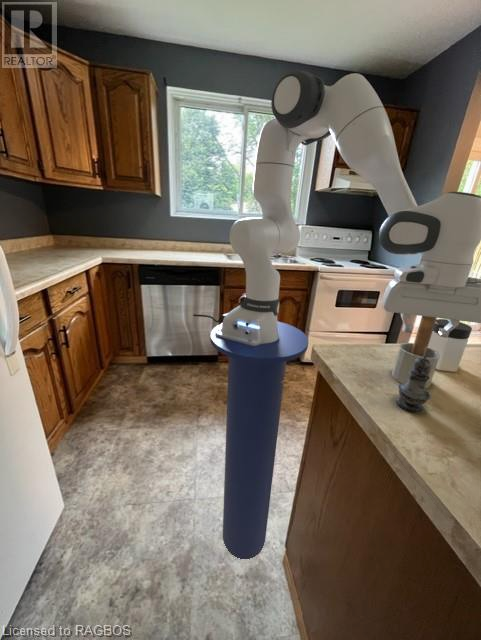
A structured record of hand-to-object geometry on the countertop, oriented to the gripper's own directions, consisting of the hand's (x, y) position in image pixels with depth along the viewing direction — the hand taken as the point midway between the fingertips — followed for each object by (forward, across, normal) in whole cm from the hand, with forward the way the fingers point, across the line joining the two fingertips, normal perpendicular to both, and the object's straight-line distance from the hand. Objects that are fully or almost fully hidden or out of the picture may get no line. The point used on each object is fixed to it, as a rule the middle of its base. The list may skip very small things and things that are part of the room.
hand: (424, 334), depth 63 cm
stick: (+12, 0, 0) cm, 12 cm away
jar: (+12, -10, -12) cm, 20 cm away
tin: (+12, 0, 0) cm, 12 cm away
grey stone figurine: (+12, +3, +12) cm, 17 cm away
